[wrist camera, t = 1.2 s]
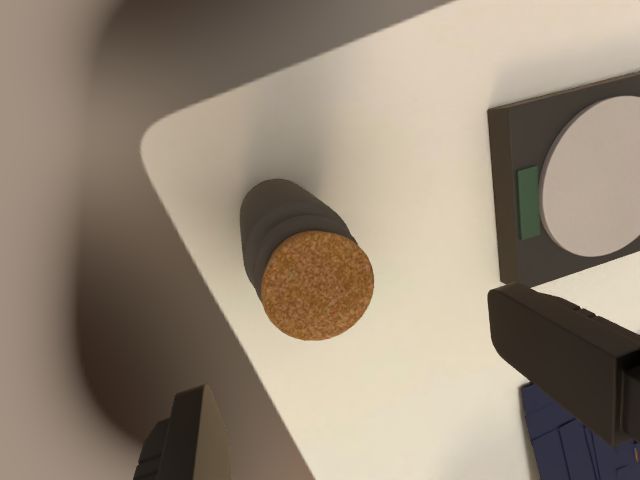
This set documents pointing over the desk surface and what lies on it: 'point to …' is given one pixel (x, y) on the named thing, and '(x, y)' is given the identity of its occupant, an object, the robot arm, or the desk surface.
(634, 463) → the papers
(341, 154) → the desk surface
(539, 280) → the scale
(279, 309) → the bottle
